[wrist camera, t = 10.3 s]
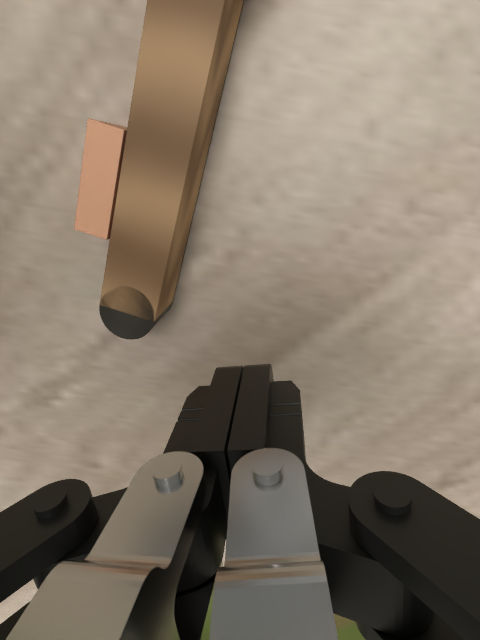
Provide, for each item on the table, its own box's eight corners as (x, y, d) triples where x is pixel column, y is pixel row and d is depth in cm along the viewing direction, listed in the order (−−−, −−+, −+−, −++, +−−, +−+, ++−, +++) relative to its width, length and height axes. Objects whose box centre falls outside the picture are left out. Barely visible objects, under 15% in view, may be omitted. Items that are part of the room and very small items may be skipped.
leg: (200, -128, 19) (178, -197, 16) (268, -108, 19) (262, -172, 16) (121, 308, 29) (95, 329, 25) (167, 323, 29) (148, 346, 25)
